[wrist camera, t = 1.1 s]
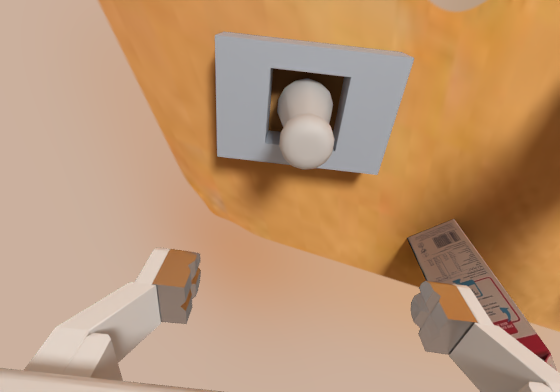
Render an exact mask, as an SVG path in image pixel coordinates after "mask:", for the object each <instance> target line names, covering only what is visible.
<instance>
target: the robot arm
mask: <svg viewBox="0 0 560 392" xmlns="http://www.w3.org/2000/svg"><path fill="white" fill-rule="evenodd" d="M199 263H200V254H199V253H195V252H188V251H182V250H175V249H166V248H159V247H157V248H156V249H154V250H153V252H152V253H151V255H150V257H149V258H148V260H147V262H146V264H145V265H144V267H143V269H142V270H141V272H140V274H139V276H138V277H137V279H136V281H135V282H129V283H128V284H126V285H124V286H123V287H121V288H119V289H118V290H116V291H114V292H113V293H111V294H110V295H108V296H106V297H105V298H103V299H101V300H100V301H98V302H96V303H95V304H93V305H92V306H90V307H88V308H87V309H85V310H83V311H82V312H80V313H79V314H77V315H75V316H74V317H72V318H70V319H69V320H67V321H65V322H64V323H62V324H60V325H59V326H57V327H56V328H55V329H54V331H53V332H52V333H51V335H50V336H49V337H48V339H47V340H46V341H45V343H44V344H43V345H42V347H41V348H40V349H39V351H38V352H37V353H36V354H35V356H34V357H33V359H32V360H31V361H30V363H29V364H28V365H27V367H26V368H25V369H24V370H14V369H5V368H0V392H221V391H212V390H203V389H192V388H183V387H173V386H165V385H155V384H145V383H136V382H126V381H123V380H122V376H121V373H120V369H119V366H118V362H119V361H121V360H122V359H123V358H124V357H125V356H126V355H127V354H128V353H129V352H130V351H131V350H132V349H134V348H135V347H136V346H137V345H138V344H139V343H140V342H141V341H142V340H143V339H144V338H146V337H147V335H149V334H150V333H151V332H152V331H153V330H154V329H155V328H156V327H157V326H158V325H160V323H161V322H170V323H182V324H186V323H187V321H188V318H189V315H190V312H191V309H192V299H193V298H194V297H195V296H196V294H197V291H198V287H199V283H200V273H201V272H200V271H201V270H200V269H199V268H198V266H199ZM419 289H420V291H421V293H419V294H417V295H415V296H414V298H413V300H412V302H411V315H412V318H413V321H414V322H415V323H416V324H417V325H418V326H419V327H420V331H419V336H420V338H421V341H422V343H423V346H424V349H425V351H427V352H435V353H441V354H448V355H449V356H450V358H451V359H452V360H453V361H454V362H455V363H456V364H457V366H458V367H459V368H460V369H461V370H462V371H463V372H464V373H465V374H466V376H467V377H468V378H469V379H470V380H471V381H472V382H473V383H474V385H475V386H476V387H477V388H478V389H479V390H480V392H560V373H559V372H557V371H556V370H555V369H554V368H552V367H551V366H550V365H548V364H547V363H546V362H544V361H543V360H542V359H541V358H539V357H538V356H537V355H535V354H534V353H533V352H532V351H530V350H529V349H528V348H526V347H525V346H524V345H522V344H521V343H520V342H519V341H517V340H516V339H515V338H513V337H512V336H511V335H509V334H508V333H507V332H506V331H504V330H503V329H502V328H500V327H499V326H496V325H494V324H493V323H492V321H491V320H490V318H489V317H488V315H487V314H486V312H485V310H484V309H483V307H482V306H481V304H480V303H479V301H478V300H477V298H476V296H475V295H474V293H473V292H472V290H471V289H470V288H469V287H468V286H466V285H457V284H448V283H439V282H430V281H424V282H423V283H422V284H421V285H420V287H419Z"/></svg>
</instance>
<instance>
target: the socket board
mask: <svg viewBox="0 0 560 392" xmlns="http://www.w3.org/2000/svg"><path fill="white" fill-rule="evenodd" d="M413 61H414V58H413V57H411V56H409V55H407V54H404V53H402V52H395V51H387V50H378V49H369V48H361V47H352V46H344V45H335V44H326V43H318V42H309V41H300V40H292V39H283V38H274V37H266V36H257V35H249V34H240V33H231V32H222V33H219V34H216V35H215V67H216V119H217V157H226V158H234V159H243V160H252V161H261V162H269V163H278V164H287V165H291V164H289V163H288V162H287V161H286V160H285V159H284V157H283V154H282V152H281V150H280V147H279V144H280V134H281V132H278V131H270V130H268V129H269V116H270V104H271V91H272V78H273V68H276V69H284V70H293V71H302V72H310V73H319V74H328V75H336V76H344V81H343V86H342V91H341V95H340V100H339V105H338V110H337V115H336V120H335V125H334V130H333V136H334V139H335V140H334V146H333V151H332V155H331V156H330V157H329V158H328V160H327V161H326V162H325V163H324V164H322V165H321V166H319V167H317V168H322V169H331V170H339V171H348V172H357V173H366V174H374V175H378V172H379V169H380V166H381V162H382V159H383V156H384V153H385V150H386V146H387V143H388V140H389V137H390V134H391V131H392V127H393V124H394V121H395V118H396V115H397V112H398V108H399V105H400V102H401V99H402V96H403V92H404V89H405V86H406V83H407V80H408V77H409V73H410V70H411V67H412V64H413Z"/></svg>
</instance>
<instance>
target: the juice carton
mask: <svg viewBox="0 0 560 392" xmlns="http://www.w3.org/2000/svg"><path fill="white" fill-rule="evenodd" d="M407 239H408V242H409V244H410V246H411V248H412V250H413V253H414V255H415V257H416V259H417V261H418V264H419V266H420V268H421V270H422V272H423V274H424V277H425V279H426V281H430V282H439V283H448V284H457V285H466V286H468V287H469V288H470V289H471V290H472V292H473V293H474V295H475V296H476V298H477V300H478V301H479V303H480V304H481V306H482V307H483V309H484V310H485V312H486V314H487V315H488V317H489V318H490V320H491V321H492V323H493V324H494V325H496V326H499V327H500V328H502V329H503V330H504V331H506V332H507V333H508V334H509V335H511V336H512V337H513V338H515V339H516V340H517V341H519V342H520V343H521V344H522V345H524V346H525V347H526V348H528V349H529V350H530V351H532V352H533V353H534V354H535V355H537V356H538V357H539V358H541V359H542V360H543V361H544V362H546V363H547V364H548V365H550V366H551V367H552V368H554V369H555V370H556V367H555V364H554V361H553V359H552V356H551V353H550V351H549V350H548V349H547V347H546V346H545V344H544V343H543V342H542V340H541V339H540V337H539V336H538V335H537V333H536V332H535V331H534V329H533V328H532V326H531V325H530V324H529V322H528V321H527V319H526V318H525V317H524V315H523V314H522V312H521V311H520V310H519V308H518V307H517V306H516V304H515V303H514V301H513V300H512V299H511V297H510V296H509V294H508V293H507V292H506V290H505V289H504V287H503V286H502V285H501V283H500V282H499V280H498V279H497V278H496V276H495V275H494V274H493V272H492V271H491V269H490V268H489V267H488V265H487V264H486V262H485V261H484V260H483V258H482V257H481V255H480V254H479V253H478V251H477V250H476V249H475V247H474V246H473V244H472V243H471V242H470V240H469V239H468V237H467V236H466V235H465V233H464V232H463V230H462V229H461V228H460V226H459V225H458V224H457V222H456V221H455V219H452V220H450V221H447V222H445V223H443V224H440V225H438V226H435V227H433V228H430V229H428V230H425V231H423V232H420V233H418V234H416V235H413V236H411V237H408V238H407ZM556 371H557V370H556Z"/></svg>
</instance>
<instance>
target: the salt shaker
mask: <svg viewBox="0 0 560 392" xmlns="http://www.w3.org/2000/svg"><path fill="white" fill-rule="evenodd" d="M332 108H333V102H332V99H331V95H330V92H329V91H328V90H327V89H326V88H325V87H324V86H323V85H322V84H321V83H320V82H317V81H314V80H311V79H309V78H307V79H302V80H296V81H294V82H293V83H291V84H290V85H288V86H287V87H285V88H284V90H283V92H282V94H281V95H280V97H279V99H278V110H277V112H278V115H279V117H280V120H281V123H282V125H283V130H282V131H281V134H280V144H279V147H280V150H281V152H282V154H283V157H284V159H285V160H286V161H287V162H288V163H289V164H291V165H292V166H293V167H296V168H300V169H303V170H306V169H315V168H317V167H319V166H321V165H322V164H324V163H325V162H326V161H327V160H328V158H329V157H330V156H331V155H332V151H333V146H334V140H335V139H334V136H333V132H332V129H331V126H330V125H329V123H330V119H331V114H332Z"/></svg>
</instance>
